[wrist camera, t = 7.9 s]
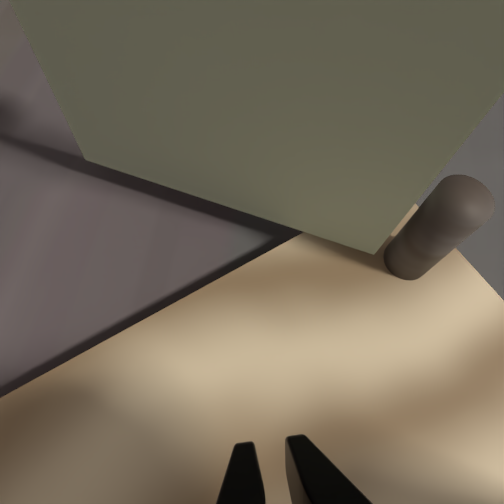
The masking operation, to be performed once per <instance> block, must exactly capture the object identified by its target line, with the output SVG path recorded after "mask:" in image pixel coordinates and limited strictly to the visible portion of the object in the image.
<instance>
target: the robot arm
mask: <svg viewBox="0 0 504 504" xmlns="http://www.w3.org/2000/svg"><path fill="white" fill-rule="evenodd" d="M285 468H286V476H287V482H288V487H289V492H290V497H291V502H292V504H373V503H372V502H371V501H370V500H369V499H368V498H367V497H366V496H365V495H364V494H363V493H362V492H361V491H360V490H359V489H358V488H357V487H356V486H355V485H354V484H353V483H352V482H351V481H350V480H349V479H348V478H347V477H346V476H345V475H344V474H343V473H342V472H341V471H340V470H339V469H338V468H337V467H336V466H335V465H334V464H333V462H332V461H331V460H330V459H329V458H328V457H327V456H326V455H325V454H324V453H323V452H322V451H321V450H320V449H319V448H318V447H317V446H316V445H315V444H314V443H313V442H312V441H311V440H310V439H309V438H308V437H307V436H306V435H304V434H297V435H290V436H287V437H286V438H285ZM216 504H266V499H265V490H264V484H263V480H262V475H261V471H260V466H259V461H258V457H257V452H256V448H255V444H254V442H253V441H247V442H240V443H236V444H235V445H234V447H233V450H232V453H231V456H230V460H229V463H228V466H227V469H226V472H225V476H224V479H223V482H222V485H221V488H220V492H219V495H218V498H217V501H216Z"/></svg>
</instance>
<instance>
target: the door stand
mask: <svg viewBox="0 0 504 504" xmlns="http://www.w3.org/2000/svg"><path fill="white" fill-rule="evenodd" d="M494 211H495V202H494V198H493V196H492V194H491V192H490V191H489V190H488V189H487V187H486V186H484V185H483V184H482V183H481V182H479V181H478V180H476V179H474V178H472V177H469V176H466V175H451V176H448V177H446V178H444V179H443V180H442V181H441V182H440V183H439V184H438V185H437V186H436V188H435V189H434V190H433V191H432V192H431V194H430V195H429V196H428V197H427V199H426V200H425V201H424V202H423V203H422V205H421V206H420V207H418V206H417V205H416V204H414V205H413V207H412V208H411V209H410V210H409V212H408V213H407V214H406V215H405V217H404V218H403V219H402V220H401V222H400V223H399V224H398V225H397V227H396V228H395V229H394V230H393V232H392V233H391V234H390V235H389V237H388V238H387V239H386V240H385V242H384V243H383V244H382V246H381V247H380V248H379V249H378V251H377V252H376V253H375V254H374V255H373V254H370V253H367V252H364V251H361V250H358V249H354V248H351V247H348V246H345V245H342V244H339V243H336V242H333V241H330V240H327V239H324V238H321V237H318V236H315V235H312V234H309V233H306V232H303V233H301V234H300V235H298V236H296V237H294V238H292V239H290V240H289V241H287V242H285V243H283V244H281V245H279V246H278V247H276V248H274V249H272V250H270V251H268V252H267V253H265V254H263V255H261V256H259V257H257V258H256V259H254V260H252V261H250V262H248V263H246V264H245V265H243V266H241V267H239V268H237V269H235V270H234V271H232V272H230V273H228V274H226V275H224V276H223V277H221V278H219V279H217V280H215V281H213V282H212V283H210V284H208V285H206V286H204V287H202V288H201V289H199V290H197V291H195V292H193V293H191V294H190V295H188V296H186V297H184V298H182V299H180V300H179V301H177V302H175V303H173V304H171V305H169V306H168V307H166V308H164V309H162V310H160V311H159V312H157V313H155V314H153V315H151V316H149V317H148V318H146V319H144V320H142V321H140V322H138V323H137V324H135V325H133V326H131V327H129V328H127V329H126V330H124V331H122V332H120V333H118V334H116V335H115V336H113V337H111V338H109V339H107V340H105V341H104V342H102V343H100V344H98V345H96V346H94V347H93V348H91V349H89V350H87V351H85V352H83V353H82V354H80V355H78V356H76V357H74V358H72V359H71V360H69V361H67V362H65V363H63V364H61V365H60V366H58V367H56V368H54V369H52V370H50V371H49V372H47V373H45V374H43V375H41V376H39V377H38V378H36V379H34V380H32V381H30V382H28V383H27V384H25V385H23V386H21V387H19V388H17V389H16V390H14V391H12V392H10V393H8V394H6V395H5V396H3V397H1V398H0V504H216V501H217V498H218V495H219V492H220V488H221V485H222V482H223V479H224V476H225V472H226V469H227V466H228V463H229V460H230V456H231V453H232V450H233V447H234V445H235V444H236V443H240V442H247V441H253V442H254V444H255V448H256V452H257V457H258V461H259V466H260V471H261V475H262V480H263V484H264V490H265V499H266V504H292V502H291V497H290V492H289V487H288V482H287V476H286V468H285V438H286V437H287V436H290V435H297V434H304V435H306V436H307V437H308V438H309V439H310V440H311V441H312V442H313V443H314V444H315V445H316V446H317V447H318V448H319V449H320V450H321V451H322V452H323V453H324V454H325V455H326V456H327V457H328V458H329V459H330V460H331V461H332V462H333V464H334V465H335V466H336V467H337V468H338V469H339V470H340V471H341V472H342V473H343V474H344V475H345V476H346V477H347V478H348V479H349V480H350V481H351V482H352V483H353V484H354V485H355V486H356V487H357V488H358V489H359V490H360V491H361V492H362V493H363V494H364V495H365V496H366V497H367V498H368V499H369V500H370V501H371V502H372V503H373V504H504V301H503V299H502V298H501V297H500V296H499V295H498V294H497V293H496V292H495V291H494V290H493V288H492V287H491V286H490V285H489V284H488V283H487V282H486V281H485V280H484V279H483V277H482V276H481V275H480V274H479V273H478V272H477V271H476V270H475V269H474V268H473V266H472V265H471V264H470V263H469V262H468V261H467V260H466V259H465V258H464V257H463V256H462V254H461V253H460V252H459V251H458V250H457V249H456V247H457V246H458V245H459V244H460V243H462V242H463V241H464V240H465V239H466V238H468V237H469V236H470V235H471V234H472V233H473V232H475V231H476V230H477V229H478V228H479V227H481V226H482V225H483V224H484V223H485V222H486V221H488V220H489V219H490V218H491V217H492V215H493V213H494Z"/></svg>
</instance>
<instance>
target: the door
mask: <svg viewBox="0 0 504 504" xmlns="http://www.w3.org/2000/svg"><path fill="white" fill-rule="evenodd" d="M9 1H10V3H11V5H12V7H13V9H14V12H15V14H16V16H17V18H18V20H19V22H20V24H21V26H22V28H23V30H24V33H25V35H26V37H27V39H28V41H29V43H30V45H31V47H32V49H33V51H34V53H35V56H36V58H37V60H38V62H39V64H40V66H41V68H42V70H43V72H44V74H45V77H46V79H47V81H48V83H49V85H50V87H51V89H52V91H53V93H54V95H55V97H56V100H57V102H58V104H59V106H60V108H61V110H62V112H63V114H64V116H65V118H66V121H67V123H68V125H69V127H70V129H71V131H72V133H73V135H74V137H75V139H76V141H77V144H78V146H79V148H80V150H81V152H82V154H83V156H84V158H85V160H87V161H90V162H93V163H96V164H99V165H102V166H105V167H108V168H111V169H114V170H117V171H120V172H123V173H126V174H129V175H132V176H136V177H139V178H142V179H145V180H148V181H151V182H154V183H157V184H160V185H163V186H166V187H169V188H172V189H175V190H178V191H181V192H184V193H187V194H190V195H193V196H196V197H199V198H202V199H205V200H209V201H212V202H215V203H218V204H221V205H224V206H227V207H230V208H233V209H236V210H239V211H242V212H245V213H248V214H251V215H254V216H257V217H260V218H263V219H266V220H269V221H272V222H275V223H278V224H282V225H285V226H288V227H291V228H294V229H297V230H300V231H303V232H306V233H309V234H312V235H315V236H318V237H321V238H324V239H327V240H330V241H333V242H336V243H339V244H342V245H345V246H348V247H351V248H354V249H358V250H361V251H364V252H367V253H370V254H373V255H374V254H375V253H376V252H377V251H378V249H379V248H380V247H381V246H382V244H383V243H384V242H385V240H386V239H387V238H388V237H389V235H390V234H391V233H392V232H393V230H394V229H395V228H396V227H397V225H398V224H399V223H400V222H401V220H402V219H403V218H404V217H405V215H406V214H407V213H408V212H409V210H410V209H411V208H412V207H413V205H414V204H415V203H416V202H417V200H418V199H419V198H420V197H421V195H422V194H423V193H424V192H425V190H426V189H427V188H428V187H429V185H430V184H431V183H432V182H433V180H434V179H435V178H436V177H437V175H438V174H439V173H440V172H441V170H442V169H443V168H444V167H445V165H446V164H447V163H448V162H449V160H450V159H451V158H452V156H453V155H454V154H455V153H456V151H457V150H458V149H459V148H460V146H461V145H462V144H463V143H464V141H465V140H466V139H467V138H468V136H469V135H470V134H471V133H472V131H473V130H474V129H475V128H476V126H477V125H478V124H479V123H480V121H481V120H482V119H483V118H484V116H485V115H486V114H487V113H488V111H489V110H490V109H491V108H492V106H493V105H494V104H495V103H496V101H497V100H498V99H499V98H500V96H501V95H502V94H503V93H504V0H9Z"/></svg>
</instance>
